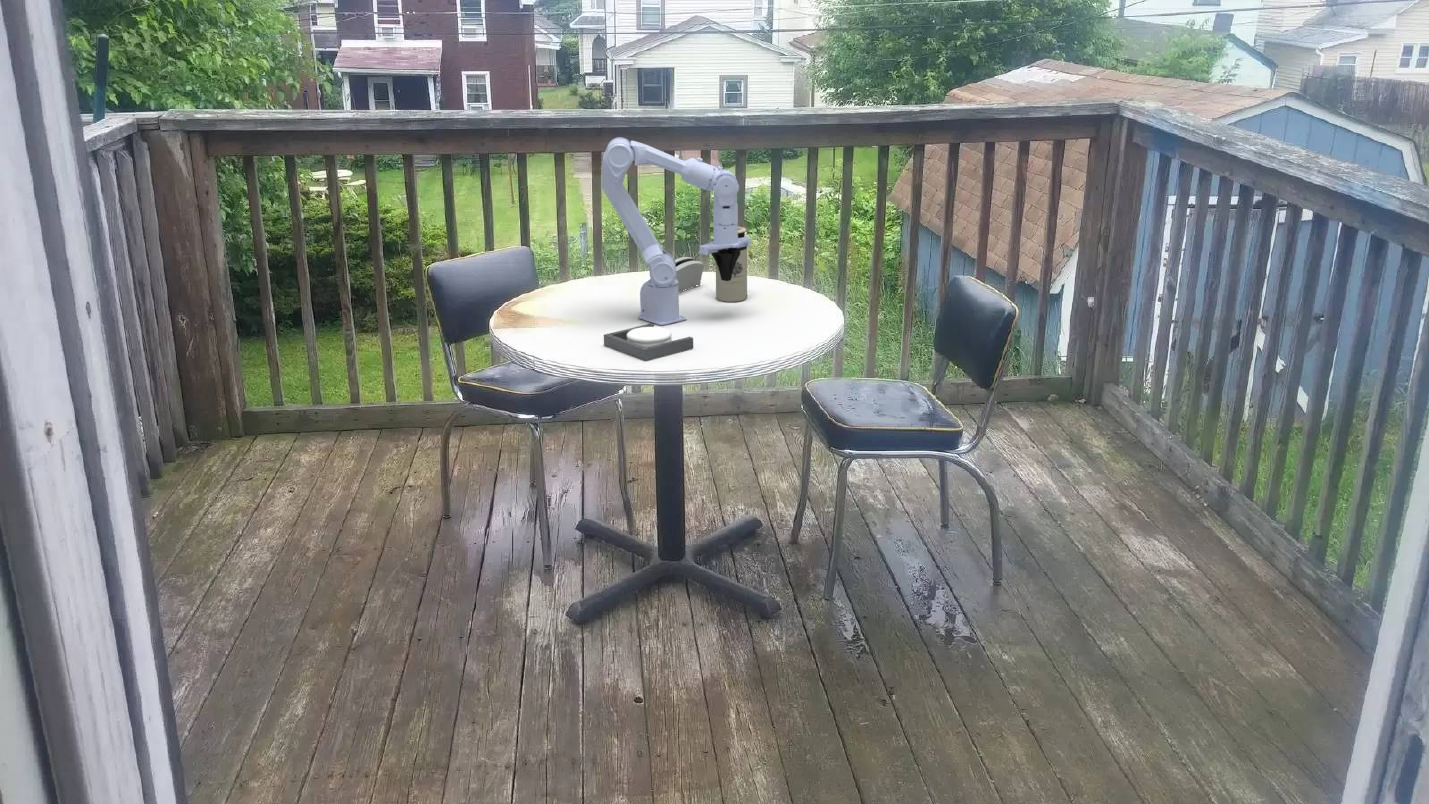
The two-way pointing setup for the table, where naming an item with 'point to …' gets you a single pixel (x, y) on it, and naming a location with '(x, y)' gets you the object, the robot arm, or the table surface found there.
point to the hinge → (688, 272)
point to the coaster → (649, 336)
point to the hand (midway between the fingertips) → (726, 280)
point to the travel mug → (734, 277)
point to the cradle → (621, 344)
